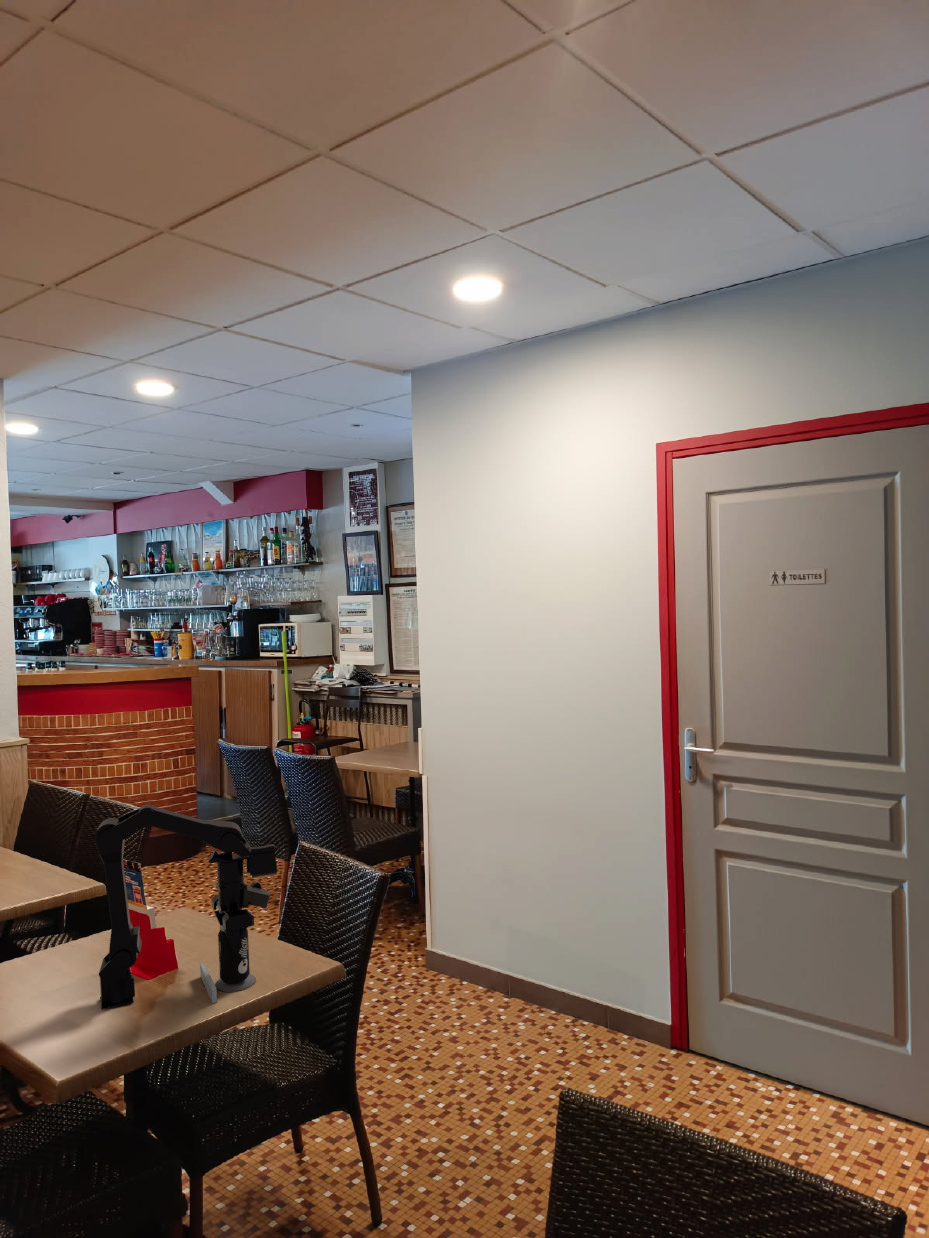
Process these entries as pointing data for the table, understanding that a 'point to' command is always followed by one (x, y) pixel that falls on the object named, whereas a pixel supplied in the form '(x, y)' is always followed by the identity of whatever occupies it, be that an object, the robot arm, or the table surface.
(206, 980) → the low wall
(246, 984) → the coaster mat
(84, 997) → the table surface
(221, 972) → the beverage can
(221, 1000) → the table surface
